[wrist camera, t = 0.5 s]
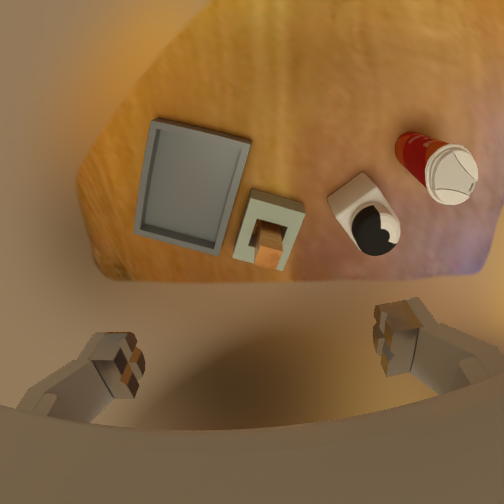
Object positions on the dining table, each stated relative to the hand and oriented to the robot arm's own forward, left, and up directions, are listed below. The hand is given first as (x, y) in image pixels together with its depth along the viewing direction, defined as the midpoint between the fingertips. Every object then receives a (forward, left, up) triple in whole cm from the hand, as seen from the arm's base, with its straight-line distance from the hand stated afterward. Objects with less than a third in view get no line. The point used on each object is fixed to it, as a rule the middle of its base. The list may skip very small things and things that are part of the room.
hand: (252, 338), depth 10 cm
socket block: (+13, +5, -38) cm, 41 cm away
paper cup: (-6, +22, -39) cm, 45 cm away
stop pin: (+13, +5, -38) cm, 41 cm away
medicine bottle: (+5, +17, -39) cm, 43 cm away
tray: (+10, -8, -38) cm, 41 cm away
